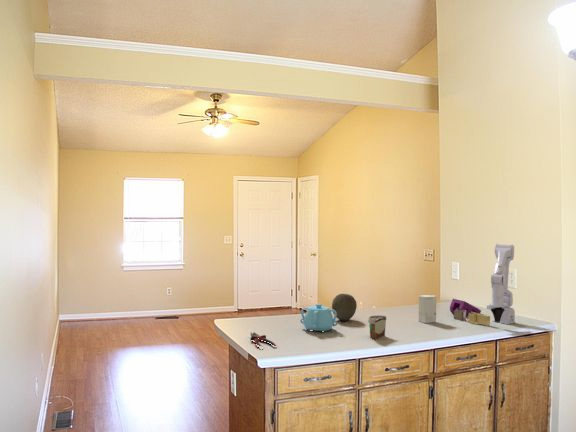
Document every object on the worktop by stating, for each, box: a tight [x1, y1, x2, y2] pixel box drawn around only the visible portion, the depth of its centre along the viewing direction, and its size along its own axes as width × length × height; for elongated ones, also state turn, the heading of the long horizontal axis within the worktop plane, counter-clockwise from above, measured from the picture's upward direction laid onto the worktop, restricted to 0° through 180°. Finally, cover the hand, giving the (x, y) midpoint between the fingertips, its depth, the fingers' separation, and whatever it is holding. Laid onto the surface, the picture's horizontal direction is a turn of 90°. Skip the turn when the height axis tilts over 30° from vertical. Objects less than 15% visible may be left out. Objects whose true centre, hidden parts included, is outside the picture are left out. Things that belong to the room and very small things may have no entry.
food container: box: [367, 315, 387, 341], centre depth 241 cm, size 12×6×10 cm, turn 141°
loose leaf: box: [467, 312, 491, 327], centre depth 270 cm, size 11×5×5 cm, turn 35°
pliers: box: [250, 331, 277, 346], centre depth 229 cm, size 3×9×22 cm
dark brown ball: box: [331, 293, 357, 322], centre depth 277 cm, size 14×14×15 cm
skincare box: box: [418, 294, 437, 324], centre depth 275 cm, size 8×6×15 cm
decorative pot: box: [299, 303, 338, 332], centre depth 255 cm, size 16×16×14 cm
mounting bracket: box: [449, 298, 482, 318], centre depth 295 cm, size 9×8×18 cm
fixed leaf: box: [453, 310, 467, 322], centre depth 280 cm, size 7×2×6 cm, turn 35°
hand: (497, 321), depth 262 cm, fingers closed
